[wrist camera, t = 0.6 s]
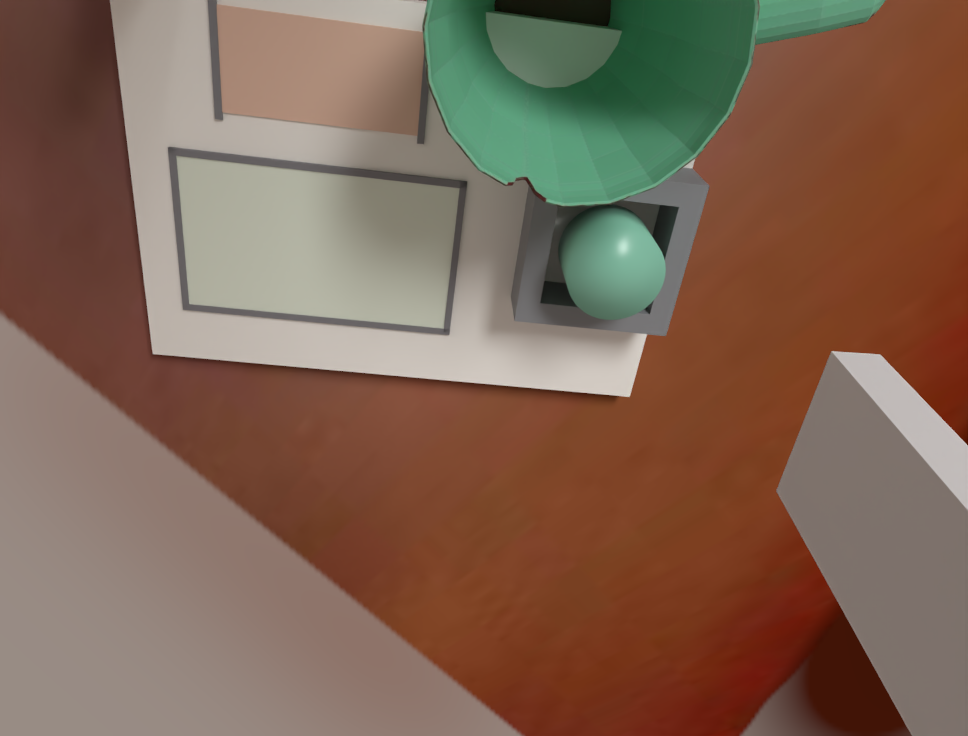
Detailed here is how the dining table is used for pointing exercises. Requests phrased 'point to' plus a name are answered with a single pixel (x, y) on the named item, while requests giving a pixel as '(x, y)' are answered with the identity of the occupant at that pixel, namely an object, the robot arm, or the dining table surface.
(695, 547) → the dining table surface
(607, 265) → the button
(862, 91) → the dining table surface
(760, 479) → the dining table surface
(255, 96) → the board
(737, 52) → the mug
